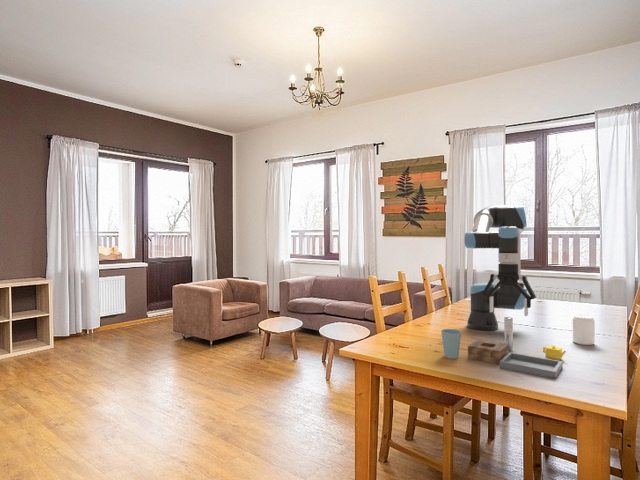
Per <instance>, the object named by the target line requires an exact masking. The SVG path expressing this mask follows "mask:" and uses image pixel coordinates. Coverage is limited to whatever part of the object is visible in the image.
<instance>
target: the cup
mask: <svg viewBox="0 0 640 480" xmlns="http://www.w3.org/2000/svg"><path fill="white" fill-rule="evenodd" d="M440 331H441V338H442V339H441V340H442V348H443V349H442V350H443V356H444V358H447V359H450V360H451V359H453V360H454V359H455V360H456V359H458V358H459V356H460V346H461V336H462V330H460V329H459V330H458V329H456V328H455V329H453V328H444V329H442V330H440Z"/></svg>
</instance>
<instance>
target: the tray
mask: <svg viewBox="0 0 640 480" xmlns="http://www.w3.org/2000/svg"><path fill="white" fill-rule="evenodd" d="M499 368H500V369H504V370H509V371H513V372H514V371H515V372H519V373H525V374H529V375H530V374H531V375H536V376H540V377H545V378H549V379H550V378H551V379H554V380H556V379H557V377H558V376H559V374H560V372H561V371H562V369H563V368H564V367H563V360H555V359H548V358H546V357H541V356H535V355H529V354H523V353H522V354H521V353H517V352H509V353H508V354H507V355H506V356H505V357H504V358H503V359H502V360H501V361H500V364H499Z"/></svg>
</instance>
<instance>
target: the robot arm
mask: <svg viewBox="0 0 640 480" xmlns="http://www.w3.org/2000/svg"><path fill="white" fill-rule="evenodd" d="M490 228H492V229H494V228H496V229H497V228H498V230H497V231H490ZM525 228H527V217H526V210H525V207H524V206H523V205H520V204H519V205H517V204H510V205H509V204H508V205H490V206H487V207H484V208H482V209H481V210H479V211H478V212H476V213H475V215H474V217H473V226H472V230H471V231H466V232H465V233H464V239H463V240H464V247H465V248H466V249H472V250H474V249H498V253H497V255H498V257H497V258H498V264H497V265H498V267H497V270H498V274H495V273H491V274H490V277H489V281H488V282H479V283H474V284H471V286H470V293H469V294H470V312H469V316H468V319H467V321H466V323H467V324H466V325H467V327H468V328H470V329H473V330H478V331H479V330H480V331H495V330H498V329H499V323H498V320H497V317H496V314H495V309H503V310H505V309H506V310H523V309H524V317H528V316H529V309H530V308H531V307H532V300H534V299H536V298H537V295H536V294H535V292H534V291H533V289H532V287H531V285H530V283H529V281H528V277H527V275H525V274H524V275H521V271H522V270H521V265H522V264H521V262H522V261H521V260H522V259H521V233H523V232H524V230H525ZM496 279H498V282H497V284H495V283H494V282H495V280H496Z"/></svg>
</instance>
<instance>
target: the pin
mask: <svg viewBox="0 0 640 480" xmlns="http://www.w3.org/2000/svg"><path fill="white" fill-rule="evenodd" d="M503 320H504V323H503V324H504V325H503V326H504V328H503V329H504V334H503V335H504V341H503V343H504V344H509V353H510V352H511V353H514V326H513V325H514V321H513V320H514V318H513V317H510V316H504V318H503Z"/></svg>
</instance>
